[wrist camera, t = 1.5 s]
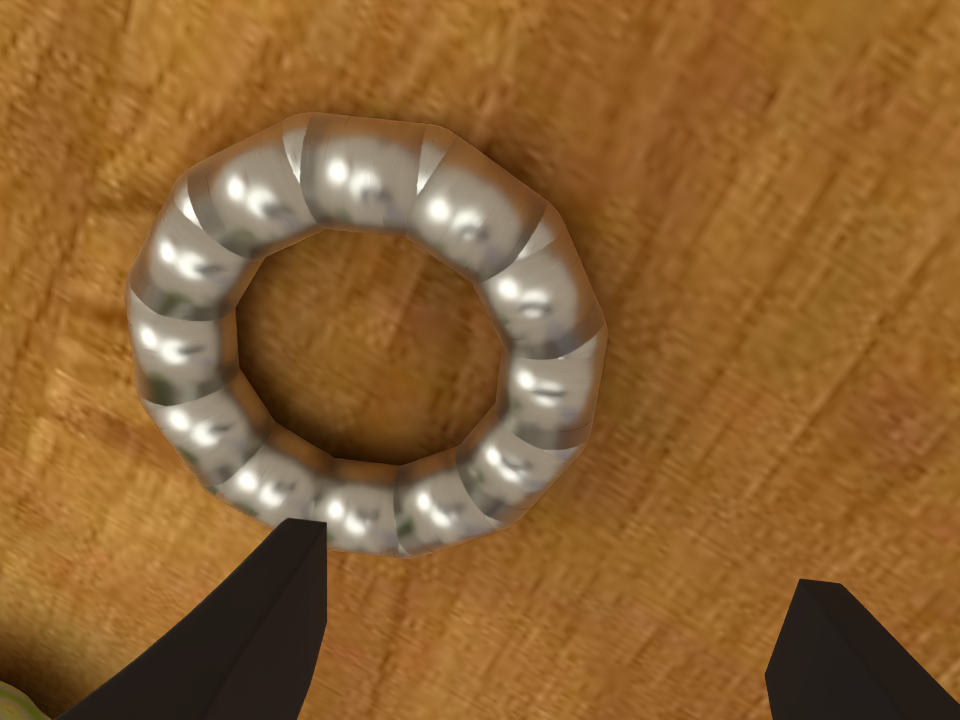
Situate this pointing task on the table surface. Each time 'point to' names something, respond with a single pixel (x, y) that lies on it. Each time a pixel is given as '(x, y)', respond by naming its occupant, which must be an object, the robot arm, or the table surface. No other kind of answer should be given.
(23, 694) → the decorative ball
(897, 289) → the table surface
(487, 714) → the table surface
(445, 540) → the segmented metal ring
